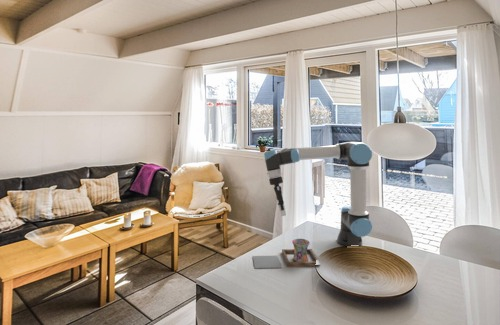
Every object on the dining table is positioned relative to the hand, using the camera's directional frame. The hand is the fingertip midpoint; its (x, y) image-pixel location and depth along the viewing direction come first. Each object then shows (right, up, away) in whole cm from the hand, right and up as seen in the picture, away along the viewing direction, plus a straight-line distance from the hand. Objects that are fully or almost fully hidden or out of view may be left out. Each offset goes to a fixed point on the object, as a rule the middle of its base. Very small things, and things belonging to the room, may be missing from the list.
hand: (282, 213), depth 168 cm
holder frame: (+9, -25, -5) cm, 27 cm away
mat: (-10, -25, -9) cm, 28 cm away
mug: (+9, -25, -5) cm, 27 cm away
